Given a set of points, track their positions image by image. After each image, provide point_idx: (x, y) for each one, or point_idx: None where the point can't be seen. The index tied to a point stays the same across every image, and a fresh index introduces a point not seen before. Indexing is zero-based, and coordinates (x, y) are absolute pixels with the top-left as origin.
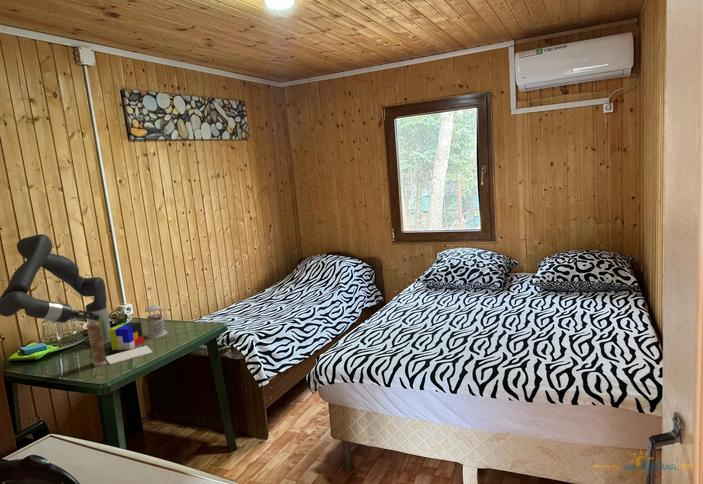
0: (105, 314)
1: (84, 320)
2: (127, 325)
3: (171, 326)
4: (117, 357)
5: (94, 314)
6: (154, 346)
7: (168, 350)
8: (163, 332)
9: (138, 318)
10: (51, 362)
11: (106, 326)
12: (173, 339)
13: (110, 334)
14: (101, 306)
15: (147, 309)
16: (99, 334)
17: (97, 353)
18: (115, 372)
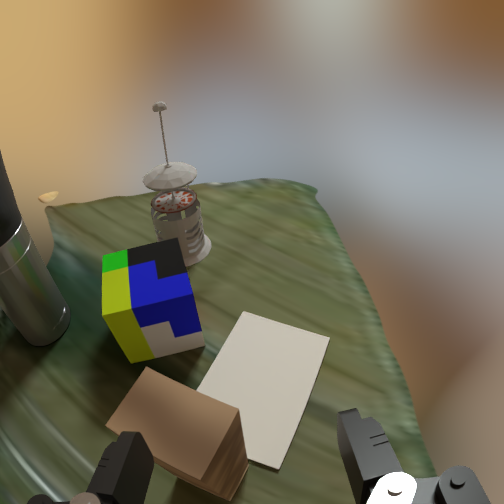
0: (29, 243)
1: (147, 468)
2: (149, 266)
3: None
4: (241, 417)
5: (374, 449)
6: (273, 305)
7: (359, 310)
8: (204, 238)
9: (47, 207)
10: (7, 479)
11: (46, 281)
12: (278, 257)
13: (113, 327)
14: (11, 220)
15: (163, 182)
16: (237, 442)
17: (233, 482)
18: None
